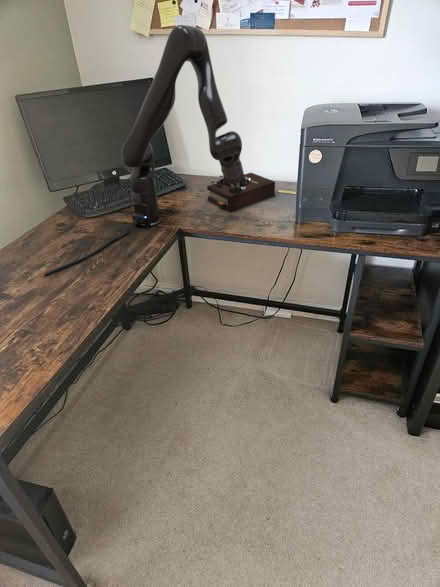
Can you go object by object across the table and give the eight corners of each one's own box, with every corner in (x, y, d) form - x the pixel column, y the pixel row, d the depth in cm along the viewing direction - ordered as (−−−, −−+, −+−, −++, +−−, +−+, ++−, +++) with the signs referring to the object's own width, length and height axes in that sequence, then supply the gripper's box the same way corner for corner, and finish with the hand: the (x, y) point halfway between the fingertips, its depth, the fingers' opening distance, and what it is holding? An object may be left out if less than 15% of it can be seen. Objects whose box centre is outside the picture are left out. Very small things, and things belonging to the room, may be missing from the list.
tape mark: (296, 194, 182) (296, 193, 182) (277, 192, 185) (277, 191, 185) (297, 192, 184) (297, 191, 184) (279, 190, 187) (279, 189, 187)
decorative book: (281, 179, 177) (226, 197, 164) (280, 195, 182) (227, 214, 168) (253, 168, 190) (200, 185, 177) (253, 184, 195) (202, 201, 181)
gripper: (251, 159, 144) (254, 180, 161) (215, 159, 146) (222, 179, 163) (249, 179, 143) (253, 198, 160) (213, 178, 145) (220, 197, 162)
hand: (237, 189), depth 162 cm, fingers closed
